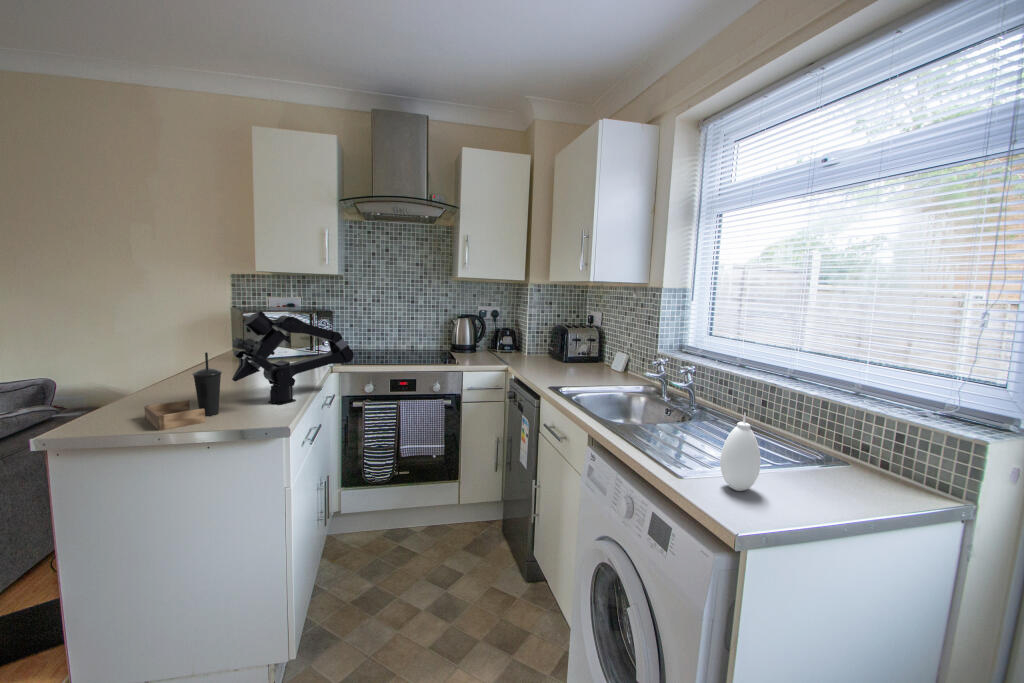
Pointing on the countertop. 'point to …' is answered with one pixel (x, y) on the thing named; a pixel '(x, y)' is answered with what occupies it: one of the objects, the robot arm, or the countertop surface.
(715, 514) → the countertop surface
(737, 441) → the sauce bottle
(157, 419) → the wooden tray
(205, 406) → the drinking cup
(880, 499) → the countertop surface
